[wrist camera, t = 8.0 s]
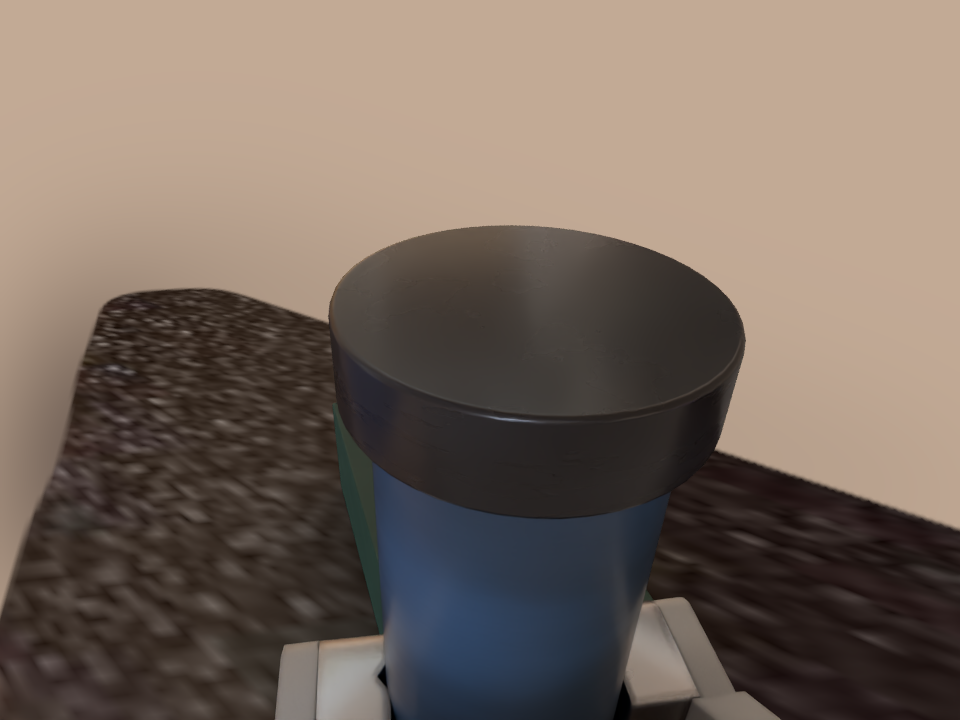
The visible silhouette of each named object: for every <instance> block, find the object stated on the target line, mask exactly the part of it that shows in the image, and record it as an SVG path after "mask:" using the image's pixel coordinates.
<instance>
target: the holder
mask: <svg viewBox="0 0 960 720" xmlns="http://www.w3.org/2000/svg"><path fill="white" fill-rule="evenodd" d="M333 414H334V423H335V433H336V442H337V451H338V460H339V470H340V479H341V487H342V491H343V494H344V498H345V502H346V506H347V510H348V514H349V518H350V521H351V525H352V529H353V533H354V537H355V541H356V545H357V548H358V552H359V556H360V560H361V564H362V568H363V572H364V576H365V579H366V583H367V587H368V591H369V595H370V599H371V603H372V606H373V610H374V614H375V618H376V622H377V626H378V630H379V633H380V635H381V634H383V621H382V605H381V590H380V574H379V559H378V543H377V528H376V513H375V497H374V482H373V466H372V461H371V460H370V459H369V457H368V456H367V455H366V454H365V453H364V452H363V451H362V450H361V449H360V448H359V447H358V446H357V444H356V443H355V442H354V440H353V439H352V437H351V436H350V434H349V433H348V431H347V430H346V428H345V426H344V424H343V421H342V419H341V416H340V414H339V411H338V405H337V403H333ZM647 600H650V601H654V600H653V599H652V597H651V596H650V594H649V593H648V591H647V590H646V592H645V596H644V599H643V601H647Z"/></svg>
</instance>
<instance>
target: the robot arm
mask: <svg viewBox="0 0 960 720" xmlns="http://www.w3.org/2000/svg"><path fill="white" fill-rule="evenodd" d="M275 720H392V718H391V704H390V697H389V693H388V689H387V682H386V667H385V652H384V636H383V634H381V635H372V636H362V637H353V638H344V639H334V640H325V641H313V642H304V643H296V644H288V645H284V648H283V652H282V655H281V662H280V673H279V683H278V694H277V705H276V715H275ZM613 720H781V719H780V718H778V717H777V716H776V715H774V714H773V713H772V712H771V711H769V710H768V709H767V708H765V707H764V706H763V705H762V704H760V703H759V702H758V701H756V700H755V699H754V698H753V697H751V696H750V695H749V694H747V693H746V692H745V691H744V692H735V690H734V688H733V686H732V684H731V682H730V680H729V678H728V677H727V675H726V673H725V671H724V669H723V667H722V665H721V663H720V661H719V659H718V657H717V655H716V653H715V651H714V650H713V648H712V646H711V644H710V642H709V640H708V638H707V636H706V634H705V632H704V630H703V628H702V626H701V625H700V623H699V621H698V619H697V617H696V615H695V613H694V611H693V609H692V607H691V605H690V603H689V602H688V601H687V600H685V599H684V598H682V597H676V598H669V599H662V600H655V601H650V600H647V601H643V603H642V607H641V611H640V615H639V619H638V623H637V627H636V631H635V635H634V639H633V643H632V647H631V651H630V655H629V659H628V663H627V667H626V671H625V675H624V679H623V683H622V687H621V691H620V695H619V699H618V703H617V706H616V710H615V714H614V718H613Z"/></svg>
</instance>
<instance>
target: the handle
mask: <svg viewBox="0 0 960 720" xmlns="http://www.w3.org/2000/svg"><path fill="white" fill-rule="evenodd" d="M328 317H329V328H330V338H331V348H332V359H333V369H334V380H335V390H336V399H337V405H338V411H339V414H340V416H341V419H342V421H343V424H344V426H345V428H346V430H347V431H348V433H349V434H350V436H351V437H352V439H353V440H354V442H355V443H356V444H357V446H358V447H359V448H360V449H361V450H362V451H363V452H364V453H365V454H366V455H367V456H368V457H369V459H370V460H371V461H372V466H373V482H374V497H375V513H376V528H377V543H378V559H379V574H380V590H381V605H382V621H383V636H384V652H385V667H386V682H387V689H388V693H389V697H390V704H391V718H392V720H613V718H614V714H615V710H616V706H617V703H618V699H619V695H620V691H621V687H622V683H623V679H624V675H625V671H626V667H627V663H628V659H629V655H630V651H631V647H632V643H633V639H634V635H635V631H636V627H637V623H638V619H639V615H640V611H641V607H642V603H643V599H644V596H645V592H646V588H647V584H648V580H649V576H650V572H651V568H652V564H653V560H654V556H655V552H656V548H657V544H658V540H659V536H660V532H661V528H662V524H663V520H664V516H665V512H666V508H667V504H668V500H669V496H670V492H671V491H672V490H674V489H675V488H677V487H678V486H680V485H681V484H683V483H684V482H686V481H687V480H688V479H689V478H690V477H691V476H692V475H694V474H695V473H696V472H697V471H698V470H699V469H700V468H701V467H702V466H703V465H704V464H705V463H706V461H707V460H708V458H709V457H710V456H711V454H712V453H713V451H714V450H715V447H716V445H717V443H718V440H719V438H720V435H721V432H722V428H723V425H724V421H725V418H726V414H727V411H728V407H729V404H730V400H731V397H732V394H733V390H734V387H735V383H736V380H737V376H738V373H739V369H740V366H741V363H742V359H743V356H744V350H745V342H746V340H745V333H744V327H743V322H742V320H741V318H740V315H739V313H738V311H737V309H736V308H735V306H734V305H733V304H732V302H731V301H730V299H729V298H728V297H727V296H726V295H725V294H724V293H723V292H722V291H721V290H720V289H719V288H718V287H717V286H716V285H714V284H713V283H712V282H710V281H709V280H708V279H707V278H705V277H704V276H703V275H701V274H699V273H698V272H696V271H694V270H693V269H691V268H690V267H688V266H686V265H684V264H682V263H680V262H678V261H676V260H674V259H672V258H670V257H668V256H665V255H663V254H660V253H658V252H656V251H653V250H650V249H647V248H644V247H641V246H639V245H635V244H632V243H629V242H625V241H622V240H618V239H615V238H610V237H606V236H602V235H597V234H592V233H586V232H581V231H575V230H567V229H560V228H549V227H538V226H513V225H511V226H482V227H469V228H461V229H453V230H446V231H441V232H435V233H430V234H426V235H422V236H418V237H414V238H411V239H408V240H404V241H401V242H399V243H395V244H393V245H391V246H388V247H386V248H383V249H381V250H379V251H377V252H375V253H374V254H372V255H370V256H368V257H366V258H365V259H363V260H362V261H361V262H359V263H358V264H356V265H355V266H354V267H353V268H351V269H350V270H349V271H348V272H347V273H346V274H345V275H344V276H343V278H342V279H341V281H340V282H339V283H338V285H337V286H336V288H335V291H334V293H333V296H332V299H331V301H330V306H329V315H328Z"/></svg>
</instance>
